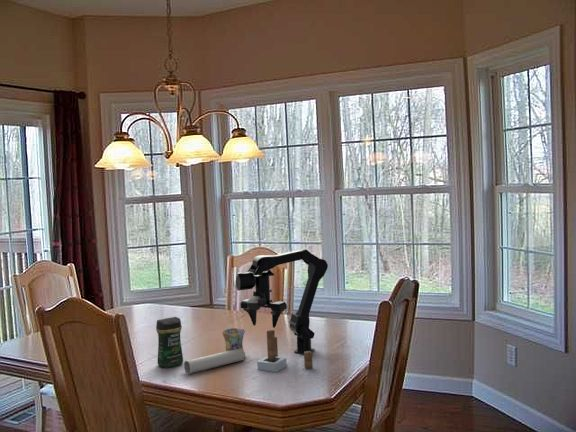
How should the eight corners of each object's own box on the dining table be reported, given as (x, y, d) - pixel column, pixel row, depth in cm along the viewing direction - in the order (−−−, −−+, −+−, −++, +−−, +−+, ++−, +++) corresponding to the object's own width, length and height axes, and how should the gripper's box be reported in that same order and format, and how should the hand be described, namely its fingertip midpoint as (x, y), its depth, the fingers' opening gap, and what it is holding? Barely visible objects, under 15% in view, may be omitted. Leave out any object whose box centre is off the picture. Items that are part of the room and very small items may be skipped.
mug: (250, 357, 223) (248, 331, 222) (229, 362, 218) (227, 335, 218) (237, 350, 233) (236, 325, 233) (217, 354, 229) (215, 329, 228)
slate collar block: (268, 362, 215) (268, 355, 215) (286, 365, 211) (286, 357, 211) (257, 369, 208) (257, 361, 208) (275, 372, 204) (275, 364, 204)
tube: (239, 347, 224) (182, 361, 209) (245, 346, 220) (188, 359, 205) (242, 360, 223) (185, 375, 208) (248, 359, 218) (191, 374, 204)
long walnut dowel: (271, 365, 212) (269, 329, 211) (277, 366, 210) (276, 330, 209) (266, 367, 210) (265, 331, 209) (273, 369, 208) (271, 332, 207)
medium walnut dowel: (273, 358, 221) (272, 336, 220) (279, 359, 219) (278, 336, 219) (269, 360, 218) (267, 338, 218) (275, 361, 217) (274, 338, 216)
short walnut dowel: (306, 366, 210) (306, 350, 209) (313, 367, 208) (313, 351, 208) (303, 368, 207) (302, 352, 207) (310, 369, 206) (309, 353, 205)
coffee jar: (163, 369, 212) (160, 322, 211) (155, 365, 219) (152, 318, 218) (186, 364, 218) (184, 317, 217) (177, 359, 224) (175, 314, 223)
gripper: (231, 290, 217) (233, 329, 218) (271, 293, 207) (273, 334, 208) (247, 284, 226) (249, 322, 227) (286, 287, 217) (288, 326, 218)
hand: (264, 326), depth 220 cm, fingers open, 9 cm apart
